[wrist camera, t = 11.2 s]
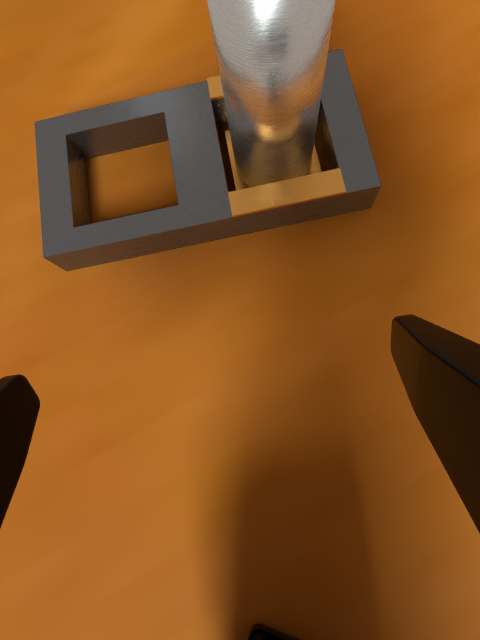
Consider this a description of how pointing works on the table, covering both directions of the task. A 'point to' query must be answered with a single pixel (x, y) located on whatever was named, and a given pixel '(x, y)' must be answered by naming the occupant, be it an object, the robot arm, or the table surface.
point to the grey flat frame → (193, 173)
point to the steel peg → (272, 81)
